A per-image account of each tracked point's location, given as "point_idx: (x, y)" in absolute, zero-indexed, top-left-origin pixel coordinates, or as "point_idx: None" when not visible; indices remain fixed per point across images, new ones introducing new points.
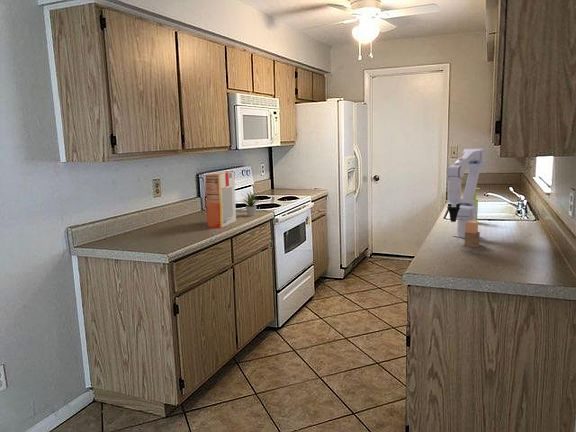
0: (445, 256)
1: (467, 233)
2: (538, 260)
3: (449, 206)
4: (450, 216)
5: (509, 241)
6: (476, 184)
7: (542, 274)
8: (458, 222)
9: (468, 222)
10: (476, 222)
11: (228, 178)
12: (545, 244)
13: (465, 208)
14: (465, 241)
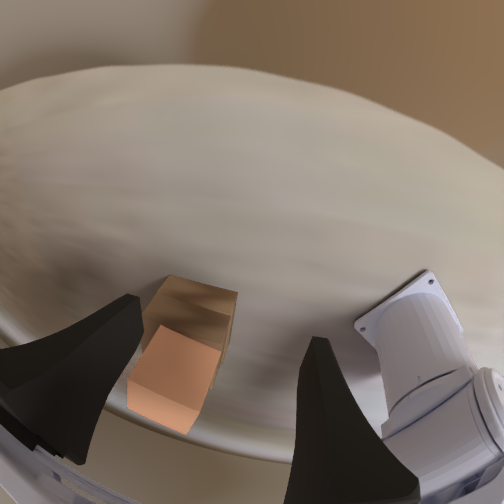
0: (13, 174)
1: (148, 330)
2: None
3: (6, 407)
4: (84, 323)
5: (293, 422)
6: None
7: (15, 336)
8: (434, 355)
9: (128, 387)
10: (142, 415)
11: None
12: (257, 454)
13: (422, 475)
14: (158, 292)
